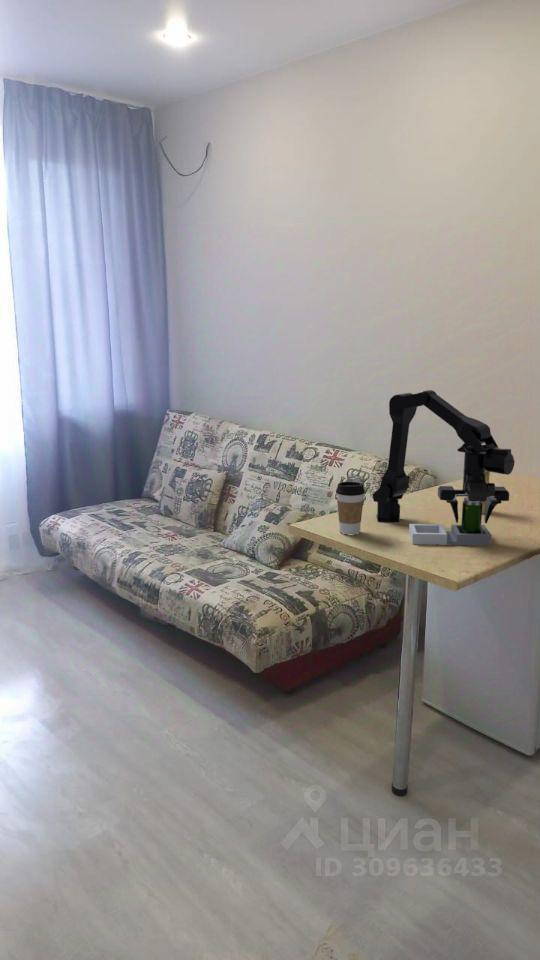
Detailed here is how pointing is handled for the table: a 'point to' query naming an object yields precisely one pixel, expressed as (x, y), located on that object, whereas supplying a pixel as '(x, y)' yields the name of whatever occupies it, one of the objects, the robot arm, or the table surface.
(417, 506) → the table surface
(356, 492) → the coffee cup
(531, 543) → the table surface
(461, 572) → the table surface
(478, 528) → the beer can
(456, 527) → the grey double square frame
